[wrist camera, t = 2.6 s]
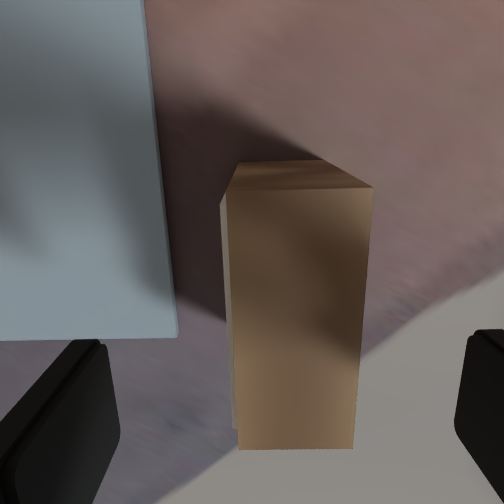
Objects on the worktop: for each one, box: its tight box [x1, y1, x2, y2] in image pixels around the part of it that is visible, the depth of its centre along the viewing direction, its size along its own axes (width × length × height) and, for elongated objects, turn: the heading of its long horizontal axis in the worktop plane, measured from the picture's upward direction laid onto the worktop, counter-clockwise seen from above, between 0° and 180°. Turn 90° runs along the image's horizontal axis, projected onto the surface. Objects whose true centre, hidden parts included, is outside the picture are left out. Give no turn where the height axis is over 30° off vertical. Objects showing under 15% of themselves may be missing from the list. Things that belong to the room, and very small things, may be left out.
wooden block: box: [220, 160, 374, 450], centre depth 13 cm, size 4×8×7 cm, turn 1°
